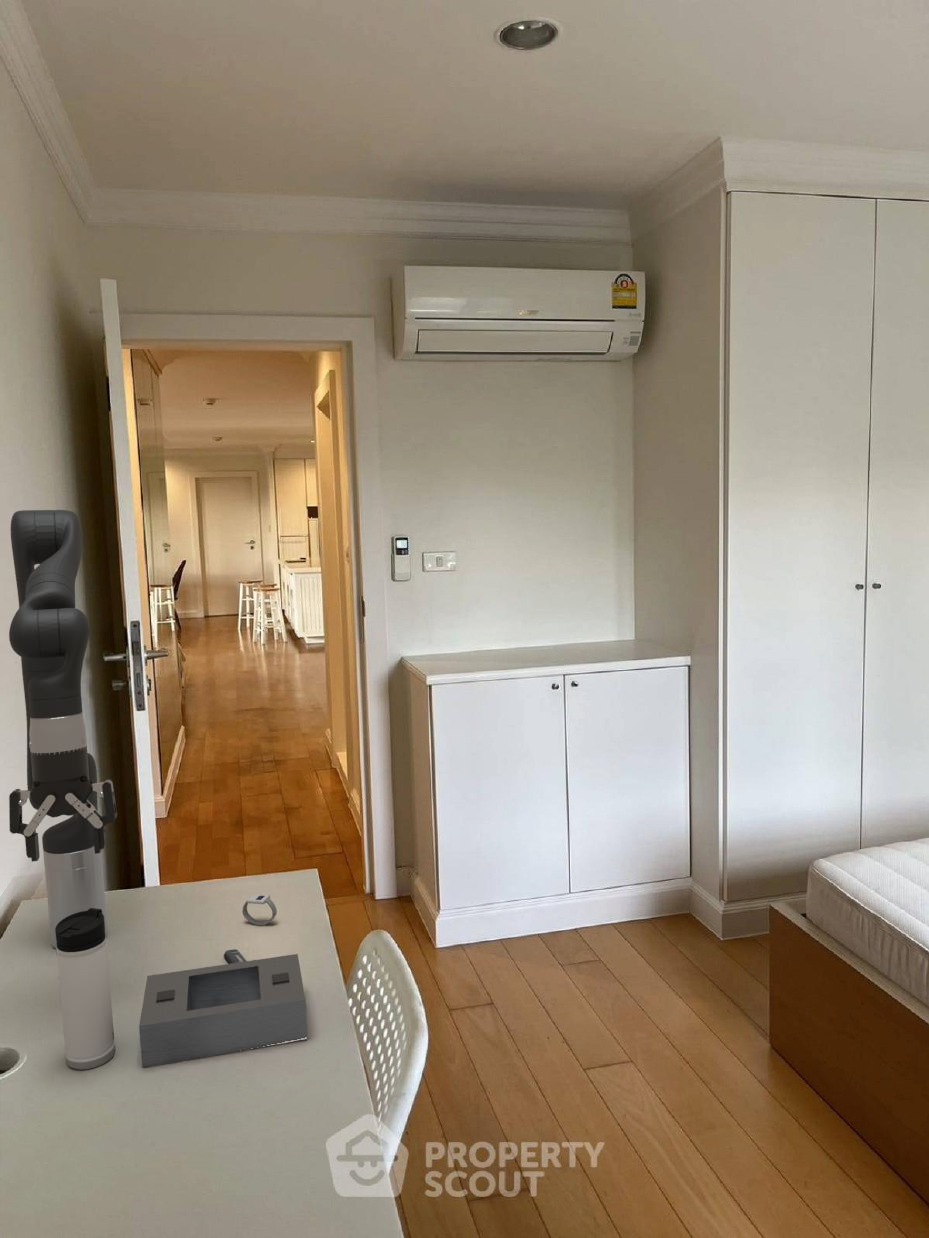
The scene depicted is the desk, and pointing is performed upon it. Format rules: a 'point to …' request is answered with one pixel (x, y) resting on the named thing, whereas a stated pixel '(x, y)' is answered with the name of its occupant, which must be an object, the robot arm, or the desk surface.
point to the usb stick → (233, 956)
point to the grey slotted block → (221, 1010)
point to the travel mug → (85, 989)
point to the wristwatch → (259, 900)
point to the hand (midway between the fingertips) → (67, 856)
